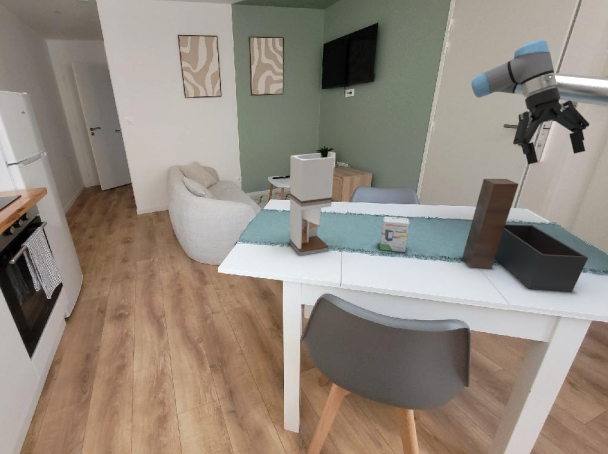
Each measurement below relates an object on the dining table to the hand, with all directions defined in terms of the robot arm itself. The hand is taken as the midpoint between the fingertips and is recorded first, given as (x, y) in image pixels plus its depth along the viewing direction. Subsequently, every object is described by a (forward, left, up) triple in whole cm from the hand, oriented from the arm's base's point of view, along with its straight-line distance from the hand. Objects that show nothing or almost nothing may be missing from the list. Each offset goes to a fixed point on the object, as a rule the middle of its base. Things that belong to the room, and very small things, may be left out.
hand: (556, 158), depth 92 cm
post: (0, +24, -32) cm, 40 cm away
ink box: (+20, +40, -32) cm, 56 cm away
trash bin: (-9, +15, -32) cm, 37 cm away
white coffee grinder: (+35, +67, -32) cm, 83 cm away
